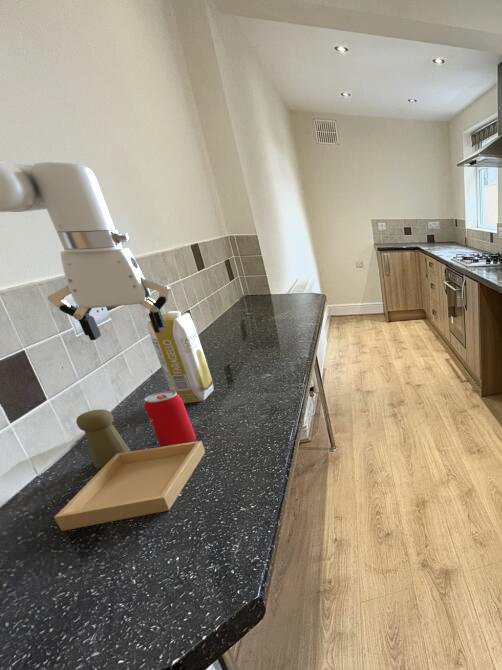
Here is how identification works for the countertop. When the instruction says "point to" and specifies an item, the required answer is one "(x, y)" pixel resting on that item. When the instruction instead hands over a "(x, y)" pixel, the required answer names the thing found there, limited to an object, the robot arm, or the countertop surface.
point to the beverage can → (169, 418)
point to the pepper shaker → (101, 436)
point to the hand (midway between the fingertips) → (128, 334)
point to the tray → (133, 485)
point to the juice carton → (182, 357)
